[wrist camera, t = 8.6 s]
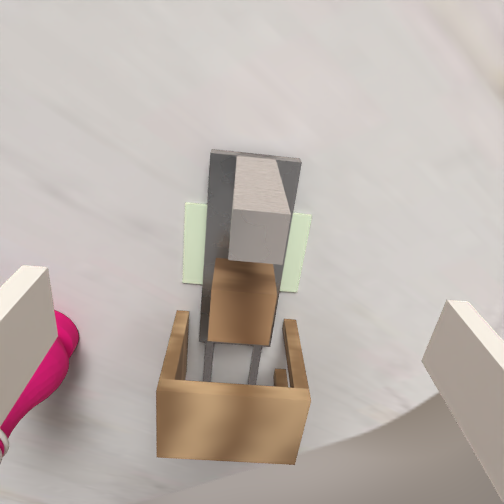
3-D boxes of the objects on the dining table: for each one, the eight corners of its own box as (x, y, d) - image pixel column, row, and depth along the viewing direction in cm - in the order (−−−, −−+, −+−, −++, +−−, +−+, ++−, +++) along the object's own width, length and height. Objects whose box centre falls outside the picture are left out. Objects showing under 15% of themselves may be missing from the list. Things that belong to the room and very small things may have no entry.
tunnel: (175, 369, 42) (156, 457, 33) (177, 310, 39) (156, 390, 30) (284, 377, 43) (294, 464, 34) (295, 319, 39) (311, 400, 30)
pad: (183, 281, 37) (182, 282, 37) (185, 202, 33) (185, 203, 33) (296, 290, 38) (297, 292, 38) (311, 214, 34) (312, 216, 34)
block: (212, 304, 36) (207, 341, 32) (215, 257, 34) (211, 289, 29) (265, 309, 36) (268, 345, 32) (273, 262, 34) (277, 295, 30)
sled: (200, 333, 39) (183, 442, 28) (211, 149, 30) (193, 205, 20) (269, 338, 40) (278, 448, 29) (299, 158, 31) (328, 218, 20)
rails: (199, 432, 47) (199, 436, 47) (217, 177, 32) (217, 179, 32) (247, 435, 48) (247, 438, 47) (286, 184, 33) (287, 186, 32)
